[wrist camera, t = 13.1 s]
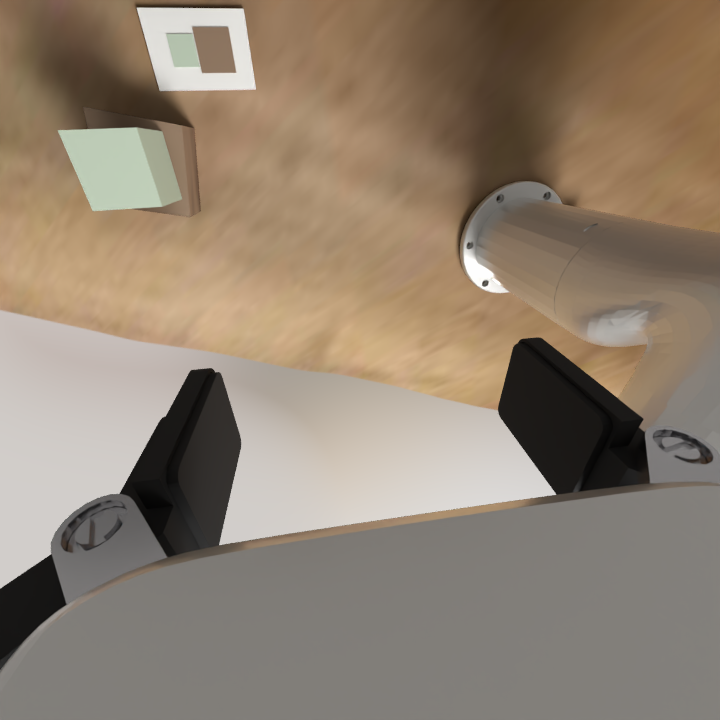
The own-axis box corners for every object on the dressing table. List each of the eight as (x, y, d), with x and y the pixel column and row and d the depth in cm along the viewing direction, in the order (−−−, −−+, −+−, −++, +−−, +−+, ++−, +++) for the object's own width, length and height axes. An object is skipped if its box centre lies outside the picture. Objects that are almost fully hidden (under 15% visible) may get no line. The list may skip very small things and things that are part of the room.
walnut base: (195, 128, 30) (181, 125, 27) (201, 210, 34) (190, 217, 30) (108, 111, 29) (83, 106, 26) (124, 199, 32) (103, 205, 29)
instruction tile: (243, 10, 27) (243, 8, 26) (256, 89, 29) (255, 88, 29) (138, 8, 26) (136, 7, 25) (160, 91, 28) (159, 90, 28)
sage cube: (162, 131, 27) (136, 127, 23) (182, 199, 30) (162, 206, 25) (96, 133, 26) (57, 130, 22) (123, 202, 29) (92, 210, 25)
